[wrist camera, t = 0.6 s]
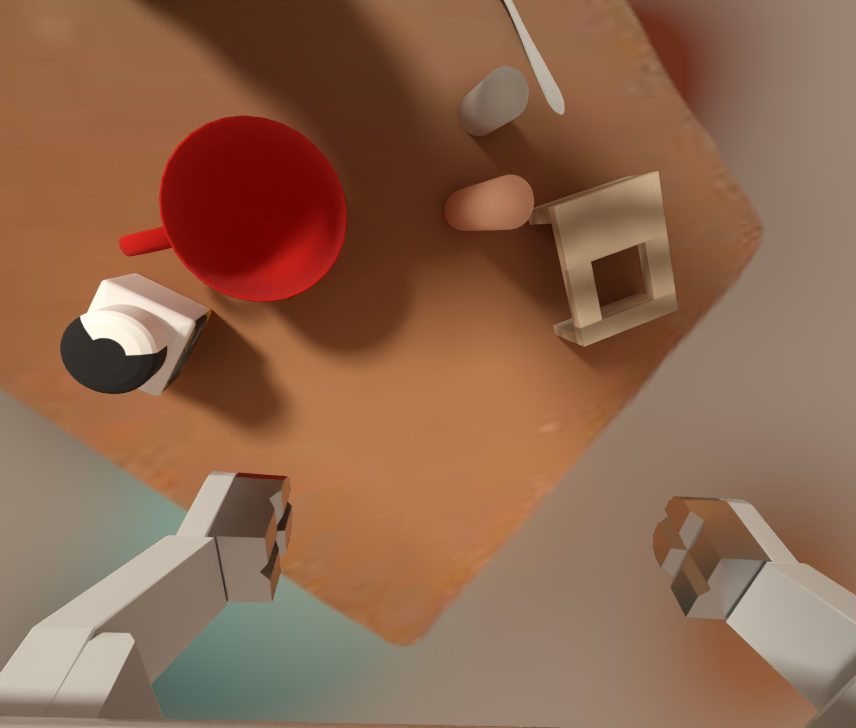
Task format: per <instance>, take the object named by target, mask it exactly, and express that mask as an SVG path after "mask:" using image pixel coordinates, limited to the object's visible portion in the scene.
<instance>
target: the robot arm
mask: <svg viewBox="0 0 856 728" xmlns="http://www.w3.org/2000/svg"><path fill="white" fill-rule="evenodd" d="M290 491H291V488H290V479H289V477H287V476H276V475H263V474H250V473H230V472H218V471H213V472H212V473H211V474H210V475H209V476H208V477H207V478H206V480H205V482H204V484H203V486H202V488H201V489H200V491H199V493H198V495H197V497H196V499H195V500H194V502H193V504H192V506H191V508H190V510H189V512H188V513H187V515H186V517H185V519H184V521H183V523H182V525H181V526H180V528H179V530H178V532H177V534H176V536H174V535H167V536H166V537H165V538H163V539H161V540H160V541H159V542H157V543H156V544H154V545H153V546H151V547H150V548H148V549H147V550H145V551H144V552H142V553H141V554H140V555H138V556H137V557H135V558H134V559H132V560H131V561H129V562H128V563H126V564H125V565H123V566H122V567H120V568H119V569H118V570H116V571H115V572H113V573H112V574H110V575H109V576H108V577H106V578H104V579H103V580H102V581H100V582H99V583H97V584H96V585H94V586H93V587H91V588H90V589H88V590H87V591H85V592H84V593H82V594H81V595H80V596H78V597H77V598H75V599H74V600H72V601H71V602H69V603H68V604H66V605H65V606H63V607H62V608H61V609H59V610H58V611H56V612H55V613H53V614H52V615H50V616H49V617H47V618H46V619H44V620H43V621H41V622H40V623H39V624H37V625H36V626H34V627H33V628H32V630H31V631H30V633H29V634H28V635H27V637H26V638H25V639H24V641H23V642H22V643H21V645H20V646H19V648H18V649H17V650H16V652H15V653H14V655H13V656H12V657H11V659H10V660H9V662H8V663H7V664H6V666H5V667H4V669H3V670H2V672H1V673H0V728H557V727H508V726H457V725H407V724H404V725H403V724H356V723H355V724H354V723H306V722H256V721H255V722H254V721H208V720H207V721H206V720H164V719H163V716H162V714H161V711H160V708H159V706H158V703H157V700H156V697H155V695H154V692H153V689H152V687H151V684H152V683H153V681H154V680H155V679H156V678H157V677H158V676H159V675H160V674H161V673H162V672H163V671H164V670H165V669H166V668H167V667H168V666H169V665H170V664H171V663H172V662H173V661H174V660H175V658H177V656H178V655H179V654H180V653H181V652H182V651H183V650H184V649H185V648H186V647H187V646H188V645H189V644H190V643H191V642H192V641H193V640H194V639H195V638H196V637H197V636H198V634H199V633H200V632H201V631H202V630H203V629H204V628H205V627H206V626H207V625H208V624H209V623H210V622H211V621H212V620H213V619H214V618H215V617H216V616H217V615H218V614H219V613H220V611H221V610H222V609H223V608H224V607H225V606H226V605H227V602H272V601H273V598H274V594H275V591H276V587H277V583H278V580H279V577H280V573H281V567H280V557H281V556H283V555H284V554H285V553H286V552H287V548H288V544H289V540H290V534H291V528H292V505H291V504H290V503H289V502H288V498H289V494H290ZM665 511H666V513H667V515H668V517H667V518H665V519H664V520H663V521H661V522H660V523H658V525H657V527H656V529H655V532H654V534H653V549H654V553H655V557H656V559H657V561H658V563H659V565H660V567H661V569H662V570H664V571H665V572H666V573H667V574H669V575H670V576H671V577H672V578H673V579H672V583H671V589H672V591H673V593H674V595H675V597H676V599H677V601H678V603H679V605H680V607H681V609H682V611H683V612H684V614H685V616H686V617H691V618H707V619H721V620H727V621H726V622H727V623H728V624H729V625H730V626H731V627H732V628H733V629H734V630H735V631H736V632H737V633H738V634H739V635H740V636H741V637H742V638H743V639H744V640H745V641H746V642H747V643H748V644H749V645H750V646H752V647H753V648H754V649H755V650H756V651H757V652H758V653H759V654H760V655H761V656H762V657H763V658H764V659H765V660H766V661H767V662H768V663H769V664H770V665H771V666H772V667H773V668H774V669H775V670H777V672H779V673H780V674H781V675H782V676H783V677H784V678H785V679H786V680H787V681H788V682H789V683H790V684H791V685H792V686H793V687H794V688H795V689H796V690H797V691H798V692H799V693H800V694H802V695H803V696H804V697H805V698H806V699H807V700H808V701H809V702H810V703H811V704H812V705H813V706H814V707H815V708H816V709H817V710H818V711H819V712H818V713H817V714H816V715H815V716H814V717H813V718H812V719H811V720H810V721H809V722H808V723H807V724H806V726H805V728H856V595H854V594H853V593H851V592H849V591H848V590H846V589H845V588H843V587H842V586H840V585H838V584H837V583H835V582H834V581H832V580H831V579H829V578H828V577H826V576H825V575H823V574H821V573H820V572H818V571H817V570H815V569H813V568H812V567H810V566H809V565H807V564H802V563H798V562H797V560H796V559H795V558H794V556H793V555H792V554H791V553H790V552H789V550H787V548H786V547H785V545H784V544H783V543H782V542H781V540H780V539H779V538H778V537H777V536H776V534H775V533H774V532H773V531H772V530H771V528H770V527H769V526H768V524H767V523H766V522H765V521H764V519H763V518H762V517H761V516H760V514H759V513H758V512H757V511H756V510H755V508H754V507H753V506H752V505H751V504H750V503H749V502H747V501H745V500H743V499H716V498H696V497H673V498H672V499H671V500H669V502H668V504H667V506H666V508H665Z"/></svg>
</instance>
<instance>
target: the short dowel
mask: <svg viewBox="0 0 856 728" xmlns="http://www.w3.org/2000/svg"><path fill="white" fill-rule="evenodd" d="M528 99H529V87H528V83H527V81H526V79H525V77H524V76H523V74H522V73H521V72H520V71H519V70H517V69H516V68H513V67H510V66H502V67H499V68H497V69H495V70H493V71H492V72H491V73H490V74H489V75H488V76H487V77H486V78H485V79H483V80H482V81H481V82H480V83H479V84H478V85H477V86H476V87H475V88H474V89H473V90H471V91H470V92H469V93H468V94H467V95H466V96H465V97H464V98H463V100H462V101H461V104H460V107H459V120H460V123H461V125H462V127H463V128H464V130H465V131H466V132H468V133H469V134H471V135H473V136H477V137H480V136H485V135H487V134H489V133H491V132H492V131H494V130H496V129H497V128H499V127H501V126H503V125H504V124H506V123H508V122H510V121H511V120H513V119H515V118H516V117H518V116H519V115H521V113H522V112H523V111H524V110H525V108H526V106H527V103H528Z"/></svg>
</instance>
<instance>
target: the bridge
mask: <svg viewBox="0 0 856 728" xmlns="http://www.w3.org/2000/svg"><path fill="white" fill-rule="evenodd" d="M529 223H530V225H533V224H552V228H553V233H554V237H555V242H556V246H557V251H558V255H559V260H560V265H561V269H562V274H563V278H564V283H565V288H566V292H567V297H568V301H569V306H570V311H571V315H572V318H571V319H568V320H565V321H563V322H560V323H558V324H555V325H553V326H554V331H555V335H557V336H559V337H561V338H564V339H566V340H569V341H571V342H574V343H576V344H579V345H581V346H584V347H585V346H587V345H590V344H592V343H595V342H597V341H600V340H602V339H605V338H608V337H610V336H613V335H615V334H618V333H620V332H623V331H625V330H628V329H631V328H633V327H636V326H638V325H641V324H643V323H646V322H648V321H651V320H653V319H656V318H659V317H661V316H664V315H666V314H669V313H671V312H674V311H676V310H678V307H677V300H676V293H675V286H674V278H673V271H672V264H671V257H670V250H669V243H668V236H667V229H666V222H665V215H664V208H663V201H662V194H661V187H660V180H659V173H658V171H655V172H650V173H645V174H639V175H634V176H629V177H623V178H619V179H616V180H613V181H610V182H607V183H604V184H601V185H598V186H595V187H593V188H590V189H587V190H584V191H581V192H578V193H575V194H572V195H569V196H566V197H564V198H561V199H558V200H555V201H552V202H549V203H546V204H543V205H540V206H537V207H534V208H533V211H532V214H531V216H530V217H529ZM635 245H638V250H639V256H640V262H641V268H642V274H643V280H644V286H645V293H646V294H645V293H636V294H634V295H631V296H628V297H626V298H623V299H620V300H618V301H615V302H613V303H610V304H607V305H605V306H602V307H600V306H599V301H598V296H597V290H596V285H595V280H594V275H593V270H592V265H591V261H594V260H597V259H599V258H602V257H605V256H608V255H610V254H613V253H616V252H619V251H621V250H624V249H627V248H629V247H632V246H635Z"/></svg>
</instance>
